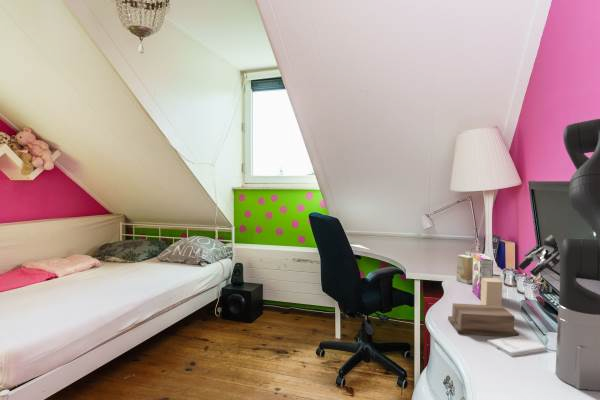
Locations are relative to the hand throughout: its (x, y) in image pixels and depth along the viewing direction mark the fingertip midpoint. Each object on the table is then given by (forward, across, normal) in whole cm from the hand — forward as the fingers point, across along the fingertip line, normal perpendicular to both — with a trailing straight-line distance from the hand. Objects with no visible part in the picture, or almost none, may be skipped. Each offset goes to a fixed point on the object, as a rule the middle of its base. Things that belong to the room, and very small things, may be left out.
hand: (526, 270), depth 124 cm
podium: (+24, +14, -2) cm, 28 cm away
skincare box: (+16, -41, +6) cm, 45 cm away
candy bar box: (+16, -20, +6) cm, 27 cm away
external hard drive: (+22, +26, +2) cm, 34 cm away
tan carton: (+19, 0, +3) cm, 19 cm away
